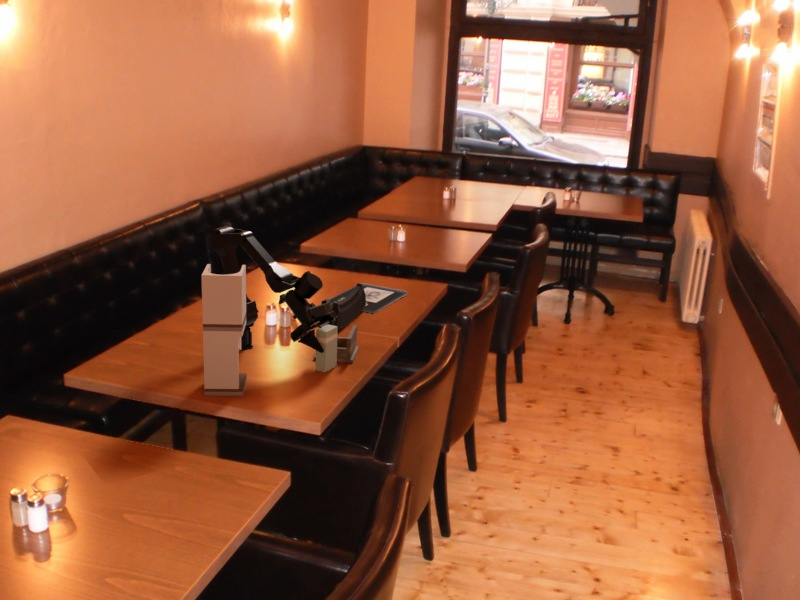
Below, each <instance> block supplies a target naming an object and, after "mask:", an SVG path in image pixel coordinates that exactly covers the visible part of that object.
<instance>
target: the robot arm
mask: <svg viewBox="0 0 800 600" xmlns="http://www.w3.org/2000/svg"><path fill="white" fill-rule="evenodd" d="M208 240H209V243H210V245H211V248H212V249H213V250H212V251H214V252H215V253H216V255H218V256H219V258H220V260H221V261H220V262H221V265H222V268H223V272H224V275H228V274H235V273H238V272H240V270H241V268H240V264H239V261H238V257H237V247H238V246H240V247H241V248H242V249H243V250H244V251H245V252H246V254H247V255H248V256H249V257H250V258H251V260H252V261H253V262H254V263H255V264H256V265H257V266H258V268H259V269H260V270H261V272H262V273H263V274H264V278H265V282H266V283H267V285H268V287H269V288H270V290H271V291H272V292H274V293H276V294H280V293H282V294H280V295H279V300H278V304H279V305H282V304H285V303H286V305H287V307H288V308H289V309H290V311H291V312H292V313H293V316H292V318H293V320H296V319H297V320H298V321H299V322H300V325H298V326H297V327H296V328H294V329H293V331H291V332H290V337H289V338H290V339H291V340H292V341H293V343H296V342H297V343H300V344H303V345H305V346H308V347H309V348H311V349H312V350H315V352H316V351H318V352H320V353H323V352H324V350H323V348H322V346H321V345H320V343H319V341H318V340H317V338H316V331H315V330H316V329H320V328H322V327H324V326H326V325H328V324H329V325H333V326H334V324H335V321H336V319H335V318H336V317H338V316H337V314H336V313H335V311H332V308H333V304H332V302H331V301H330V300H329V298H326V299H323V300H321V303H320V304H318V305H316V304H315V303H314V302H311V303H310V302H309V301H308V300H310V299H312V297H314V296H315V294H317V293H318V292H319V291H320V290H322V288H323V285H324V284H323V281H322V280H321V278H320V277H319V276H317V275H316V274H314V273H311V271H310V270H307V271H305V272H303V274H301V276H300V277H299V276H297V275H294V274H293V273H292V272H291V271H290V270H289V269H287V268H286V267H285V266H283V265H280V264H278V262H277V261H276V260H275V259H274V258H273V257H272V256H271V255H270V254H269V252H268V251H267V250H266V249H265V248H264V247H263V245H262V244H261V243H260V242H259V241H258V240H257V239H256V237H255V236H254V233H253V232H252V231H250V230H243V229H239V228H233V227H232V226H229V225H225V226H221V227H218V228H215V229H212V230H211V231H210V233H209V235H208ZM293 288H294V289H293ZM286 291H287V292H286ZM283 292H286V293H283ZM257 319H259V309H258V308H257V301H256V300H251V299H250V298H249V297H248V295H247V293H246V326H245V329H244V332H243V336H241V351H242V350H247V349H248V350H249V349H252V348H254V346H253V345H252V343H253V332H252V331H251V328H252V327H254V325H255V322H256V321H257ZM338 344H339V341H338V338H337V345H338Z"/></svg>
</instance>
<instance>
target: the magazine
mask: <svg viewBox="0 0 800 600" xmlns="http://www.w3.org/2000/svg"><path fill="white" fill-rule="evenodd" d="M355 286H356V287H355ZM355 286H354V287H355V288H354V290H353V291H352V292H351V293H350V294H349V295H348V296H347V297H346V298H345V299H343V300H342V301H340V302H339V303H333V308H332V311H335V313H336V314H337V316H338V317H336V318H335V319H336V321H335V324H334V326H338V331H339V330H341V329H344V328H346V327H347V326H348V325H349V324H351V323H352V322H353V321H354V320H355V319H356V317H358V315H360V313H361V312H362V311H361V310H362V309H363V307H364V306H365V304H366V295H365V291H364V289H363V288H362V284H361V283H360V282H358V283H356V285H355Z"/></svg>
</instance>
